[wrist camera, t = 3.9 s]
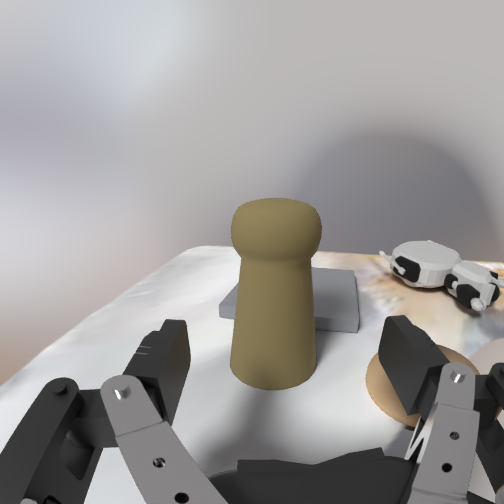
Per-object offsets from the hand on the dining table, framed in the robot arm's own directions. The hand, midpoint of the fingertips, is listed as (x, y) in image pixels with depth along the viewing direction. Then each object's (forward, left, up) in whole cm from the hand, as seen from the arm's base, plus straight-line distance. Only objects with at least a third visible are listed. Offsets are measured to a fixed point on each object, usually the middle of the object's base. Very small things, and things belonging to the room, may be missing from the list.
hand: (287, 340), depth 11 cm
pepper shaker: (+2, -7, -7) cm, 10 cm away
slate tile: (+2, -18, -6) cm, 19 cm away
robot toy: (-16, -23, -7) cm, 28 cm away
